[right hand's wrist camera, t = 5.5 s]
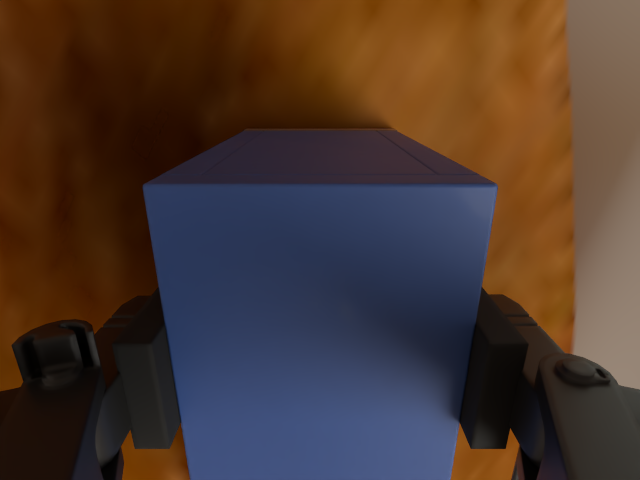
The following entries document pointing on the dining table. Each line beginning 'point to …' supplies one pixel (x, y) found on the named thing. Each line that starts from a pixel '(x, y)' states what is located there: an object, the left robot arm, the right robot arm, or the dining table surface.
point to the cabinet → (320, 302)
